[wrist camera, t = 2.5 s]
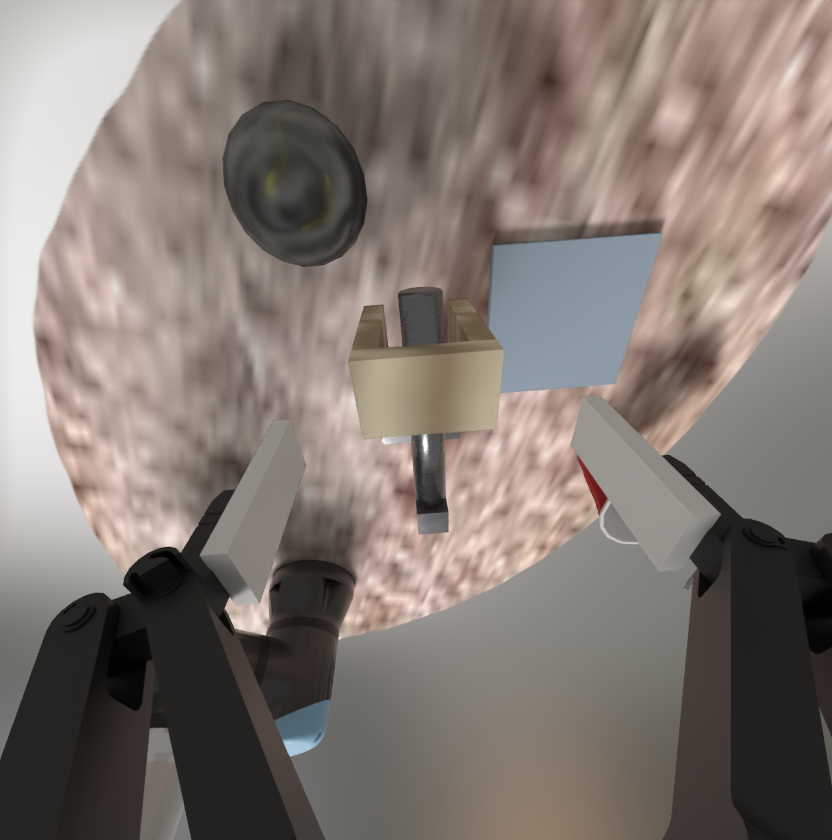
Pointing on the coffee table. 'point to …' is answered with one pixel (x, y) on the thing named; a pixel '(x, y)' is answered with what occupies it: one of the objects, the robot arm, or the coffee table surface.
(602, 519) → the plastic cup
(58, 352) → the coffee table surface
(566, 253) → the mat
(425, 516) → the stand
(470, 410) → the wooden u-bracket
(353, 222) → the decorative stone
